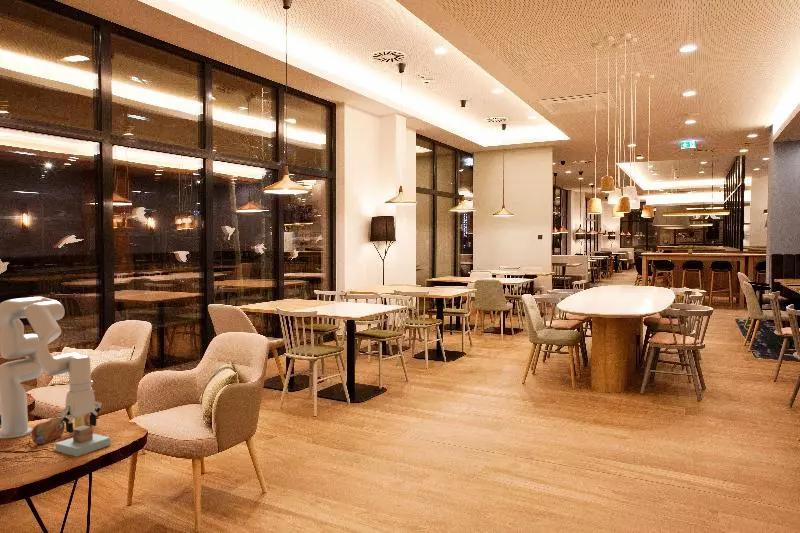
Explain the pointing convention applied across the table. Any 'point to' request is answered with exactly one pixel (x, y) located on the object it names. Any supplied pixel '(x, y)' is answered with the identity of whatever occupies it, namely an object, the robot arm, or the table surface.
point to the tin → (47, 430)
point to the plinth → (82, 445)
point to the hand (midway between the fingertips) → (81, 428)
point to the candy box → (83, 418)
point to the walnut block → (82, 434)
